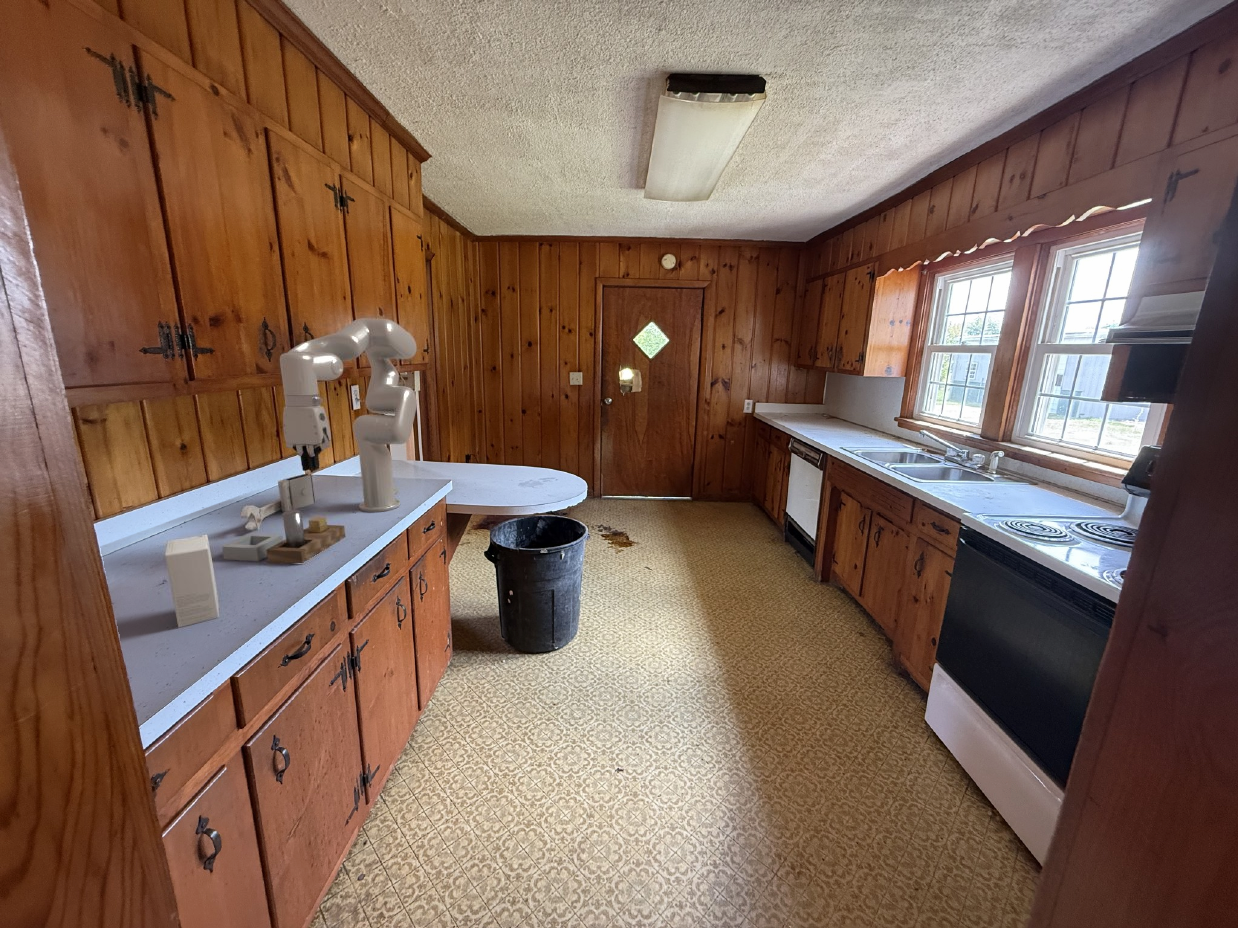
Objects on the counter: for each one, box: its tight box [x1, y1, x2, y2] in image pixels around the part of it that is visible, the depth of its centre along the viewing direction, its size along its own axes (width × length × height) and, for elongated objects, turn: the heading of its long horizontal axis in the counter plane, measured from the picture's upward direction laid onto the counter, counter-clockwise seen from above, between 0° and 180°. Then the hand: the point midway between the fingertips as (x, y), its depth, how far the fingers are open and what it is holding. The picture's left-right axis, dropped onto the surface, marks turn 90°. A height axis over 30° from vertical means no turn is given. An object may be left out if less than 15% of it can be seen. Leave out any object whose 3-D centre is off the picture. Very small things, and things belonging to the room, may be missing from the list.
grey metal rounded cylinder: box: [281, 509, 306, 548], centre depth 125 cm, size 4×4×12 cm
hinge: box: [277, 473, 315, 512], centre depth 161 cm, size 14×5×10 cm, turn 177°
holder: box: [221, 532, 284, 562], centre depth 127 cm, size 9×9×4 cm
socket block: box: [266, 524, 346, 564], centre depth 130 cm, size 18×9×4 cm, turn 177°
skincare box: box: [164, 534, 220, 628], centre depth 97 cm, size 8×7×16 cm
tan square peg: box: [308, 516, 328, 534], centre depth 134 cm, size 3×3×5 cm
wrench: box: [240, 498, 282, 531], centre depth 150 cm, size 8×2×30 cm
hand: (311, 469), depth 130 cm, fingers closed
